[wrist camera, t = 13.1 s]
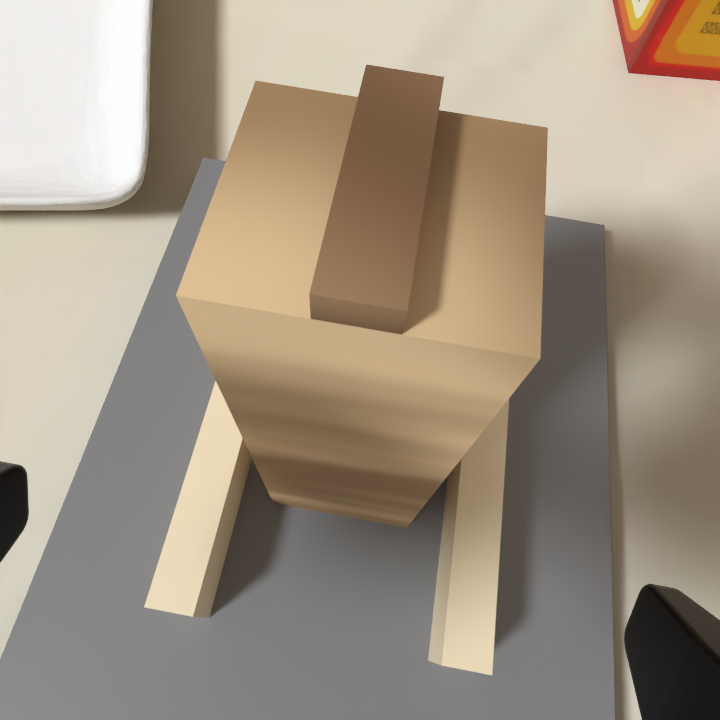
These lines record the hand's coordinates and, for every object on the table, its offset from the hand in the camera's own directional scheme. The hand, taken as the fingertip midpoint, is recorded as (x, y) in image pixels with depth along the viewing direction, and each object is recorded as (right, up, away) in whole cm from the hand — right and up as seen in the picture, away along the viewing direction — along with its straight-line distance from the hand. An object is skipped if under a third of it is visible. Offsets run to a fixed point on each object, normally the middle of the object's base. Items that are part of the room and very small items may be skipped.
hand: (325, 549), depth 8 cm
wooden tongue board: (0, 0, +9) cm, 9 cm away
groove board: (0, -1, +10) cm, 10 cm away
